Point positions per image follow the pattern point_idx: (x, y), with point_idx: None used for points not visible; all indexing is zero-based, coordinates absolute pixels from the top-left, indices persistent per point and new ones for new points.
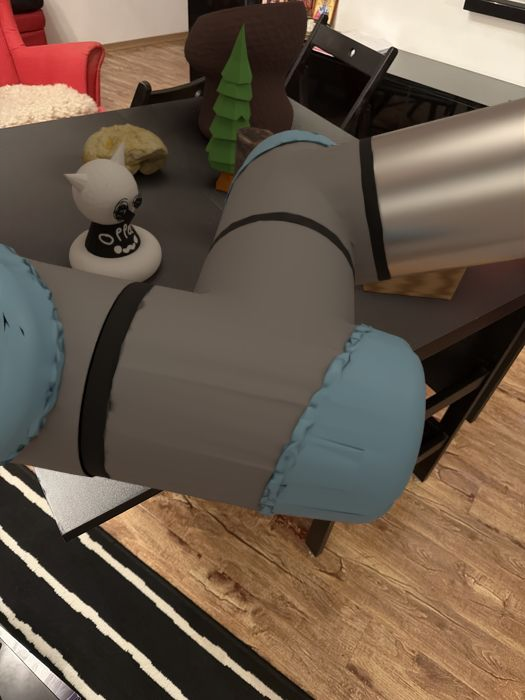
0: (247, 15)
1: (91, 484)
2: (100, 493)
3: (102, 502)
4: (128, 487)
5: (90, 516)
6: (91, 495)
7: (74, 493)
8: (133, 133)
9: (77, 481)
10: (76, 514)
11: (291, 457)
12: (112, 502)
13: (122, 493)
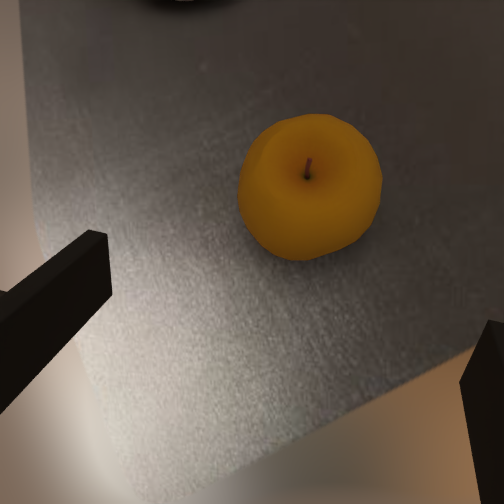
0: None
1: (175, 435)
2: (190, 456)
3: (194, 474)
4: (236, 449)
5: (176, 499)
6: (176, 458)
7: (149, 450)
8: None
9: (152, 426)
10: (154, 492)
11: None
12: (210, 477)
13: (226, 460)
